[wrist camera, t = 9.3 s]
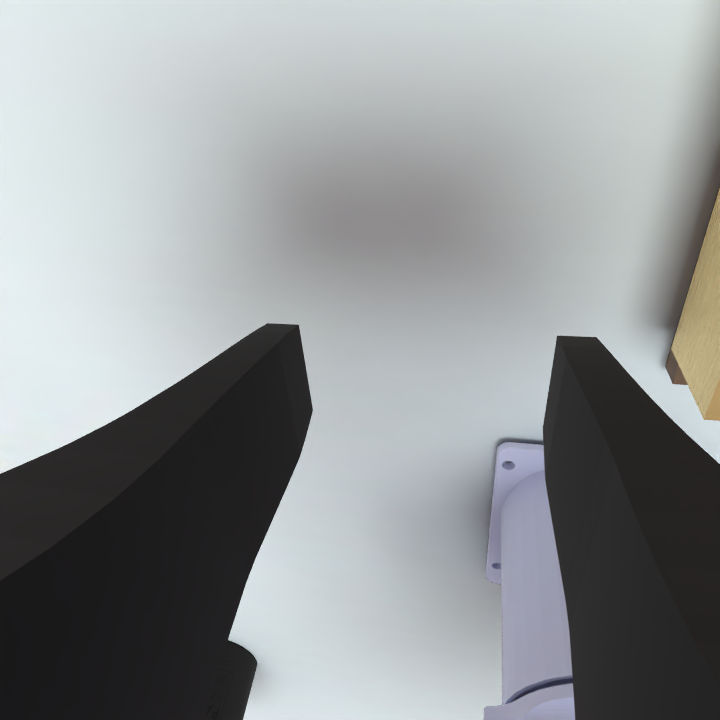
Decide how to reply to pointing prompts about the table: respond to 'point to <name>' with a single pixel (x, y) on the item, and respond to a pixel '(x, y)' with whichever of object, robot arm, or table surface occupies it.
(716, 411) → the tan slotted block
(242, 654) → the drinking cup
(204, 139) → the table surface
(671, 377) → the board
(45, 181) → the table surface
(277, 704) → the table surface
